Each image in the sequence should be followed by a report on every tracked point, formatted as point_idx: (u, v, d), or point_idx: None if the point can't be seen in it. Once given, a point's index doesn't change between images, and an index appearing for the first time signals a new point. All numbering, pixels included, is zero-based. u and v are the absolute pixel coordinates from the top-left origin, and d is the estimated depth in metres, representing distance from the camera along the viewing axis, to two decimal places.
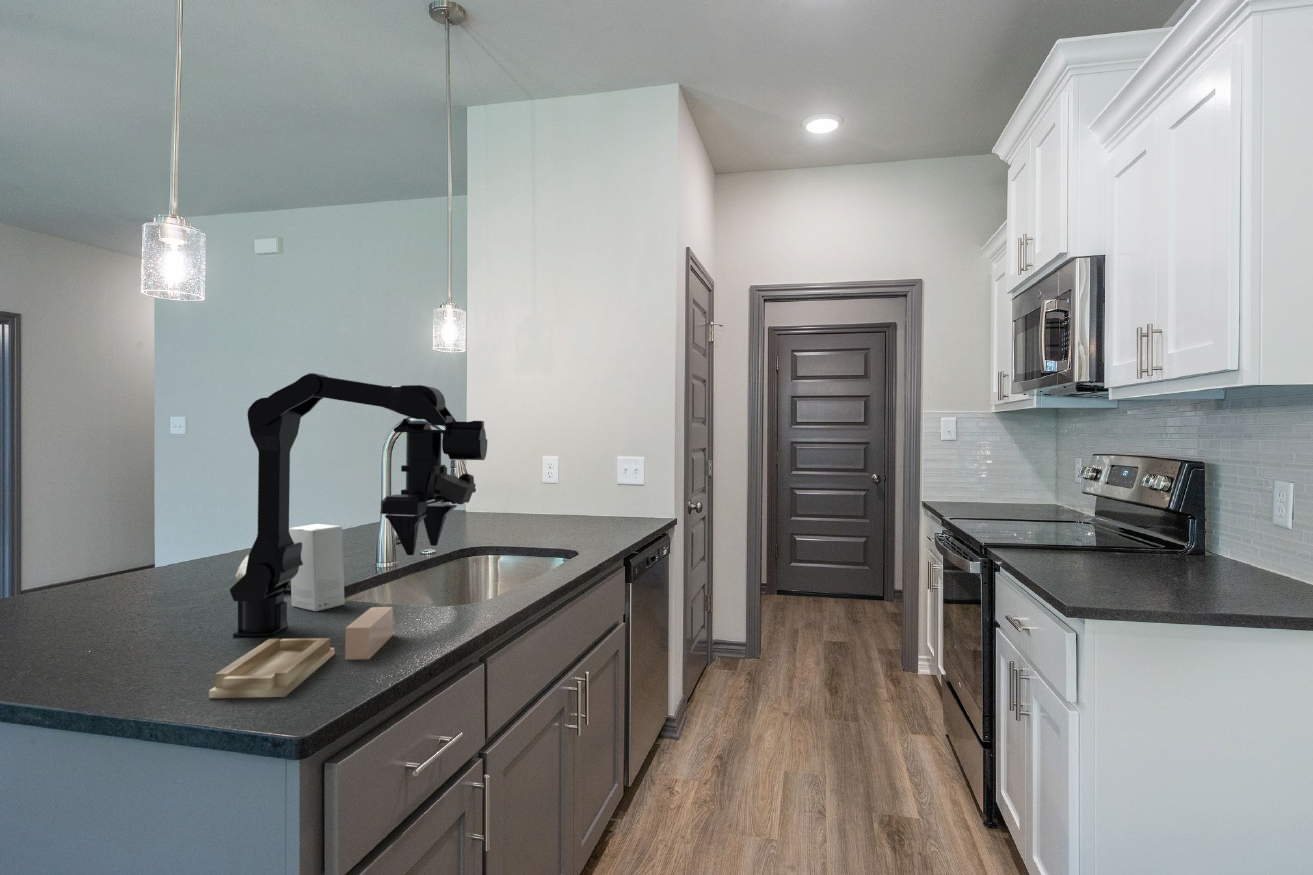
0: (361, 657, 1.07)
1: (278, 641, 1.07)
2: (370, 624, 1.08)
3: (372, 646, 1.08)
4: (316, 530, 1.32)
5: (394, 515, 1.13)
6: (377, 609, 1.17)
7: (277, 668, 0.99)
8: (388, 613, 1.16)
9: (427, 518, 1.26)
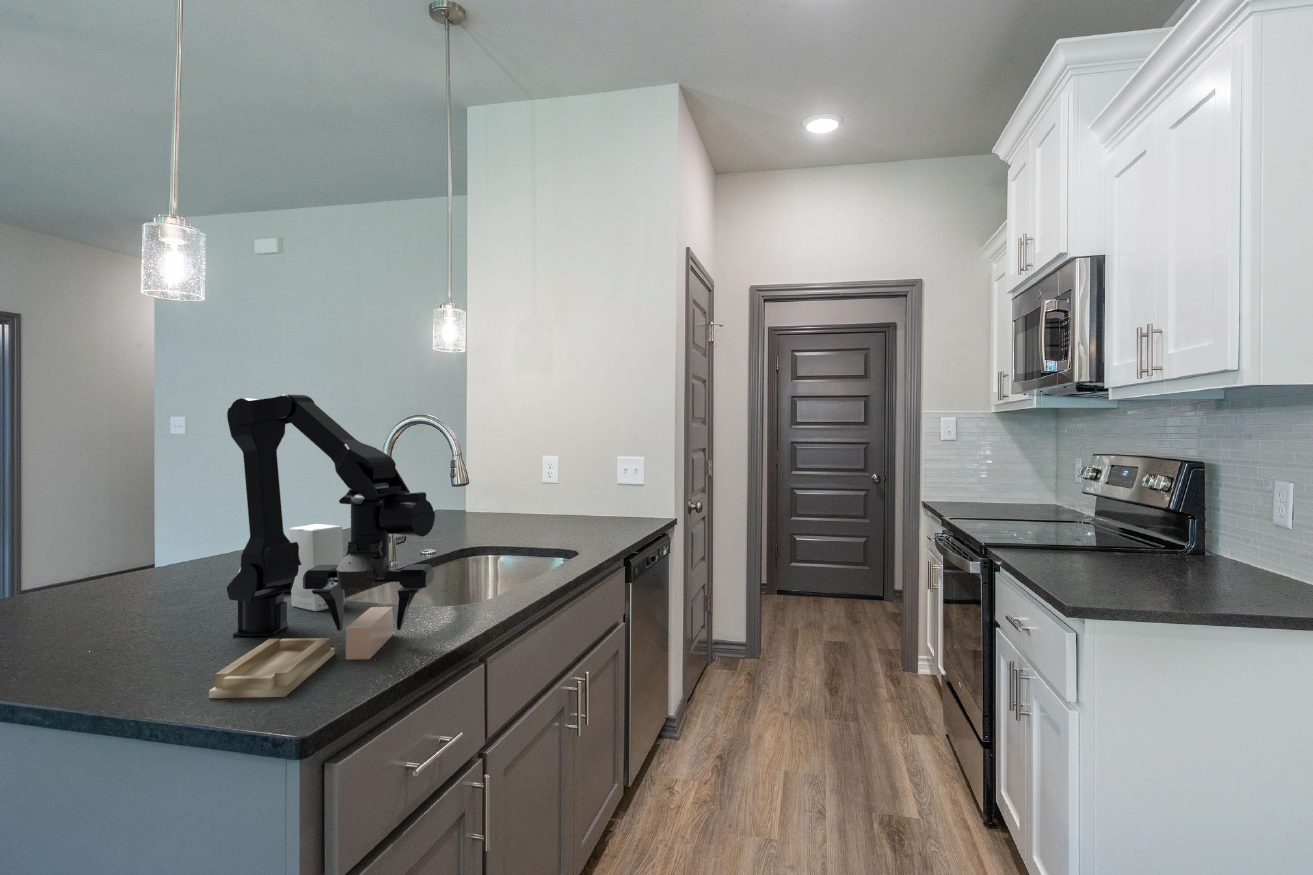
0: (361, 657, 1.07)
1: (278, 641, 1.07)
2: (370, 624, 1.08)
3: (372, 645, 1.08)
4: (316, 530, 1.32)
5: None
6: (377, 609, 1.17)
7: (277, 668, 0.99)
8: (387, 613, 1.16)
9: None
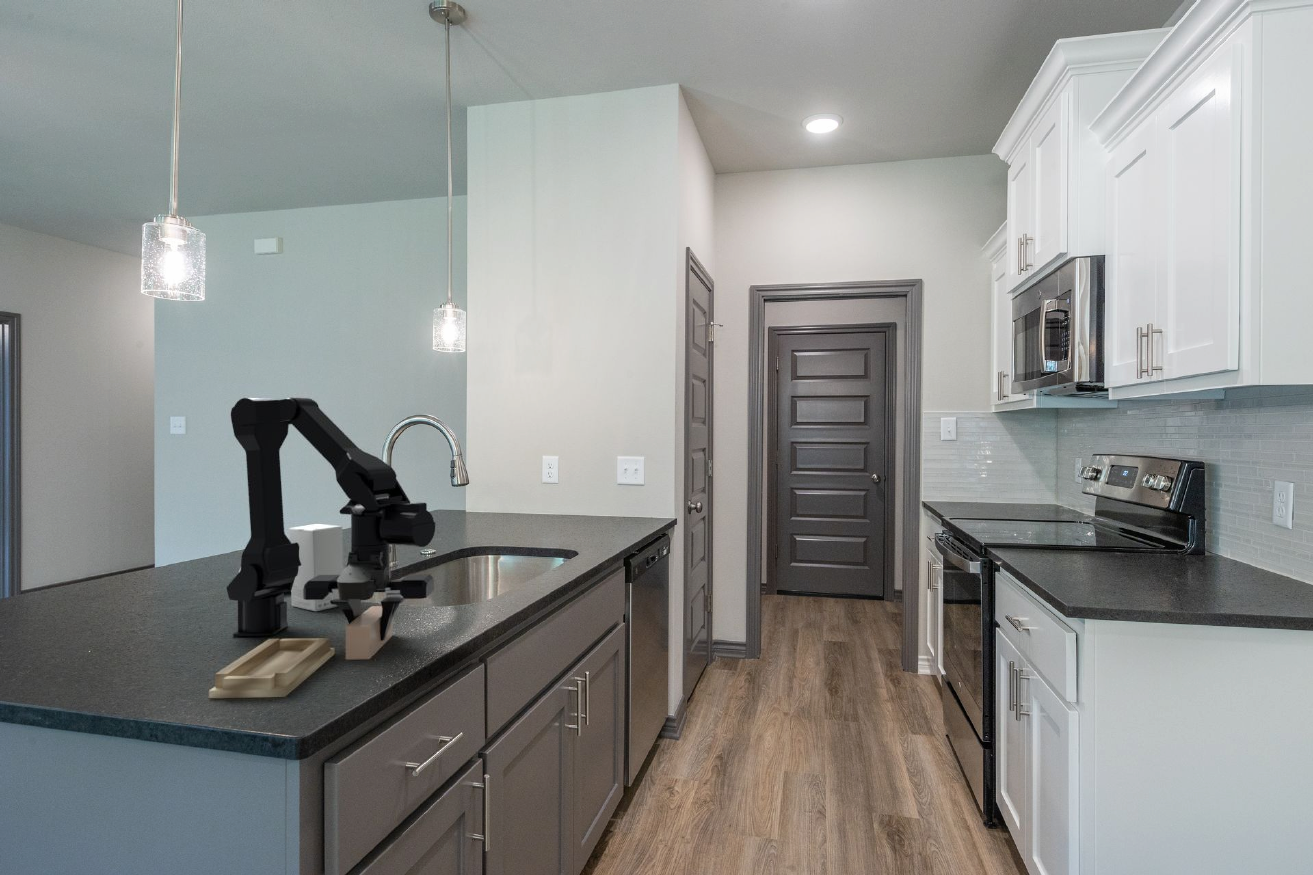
0: (361, 656, 1.07)
1: (278, 641, 1.07)
2: (370, 623, 1.08)
3: (372, 645, 1.08)
4: (316, 530, 1.32)
5: None
6: (377, 608, 1.17)
7: (277, 668, 0.99)
8: None
9: None
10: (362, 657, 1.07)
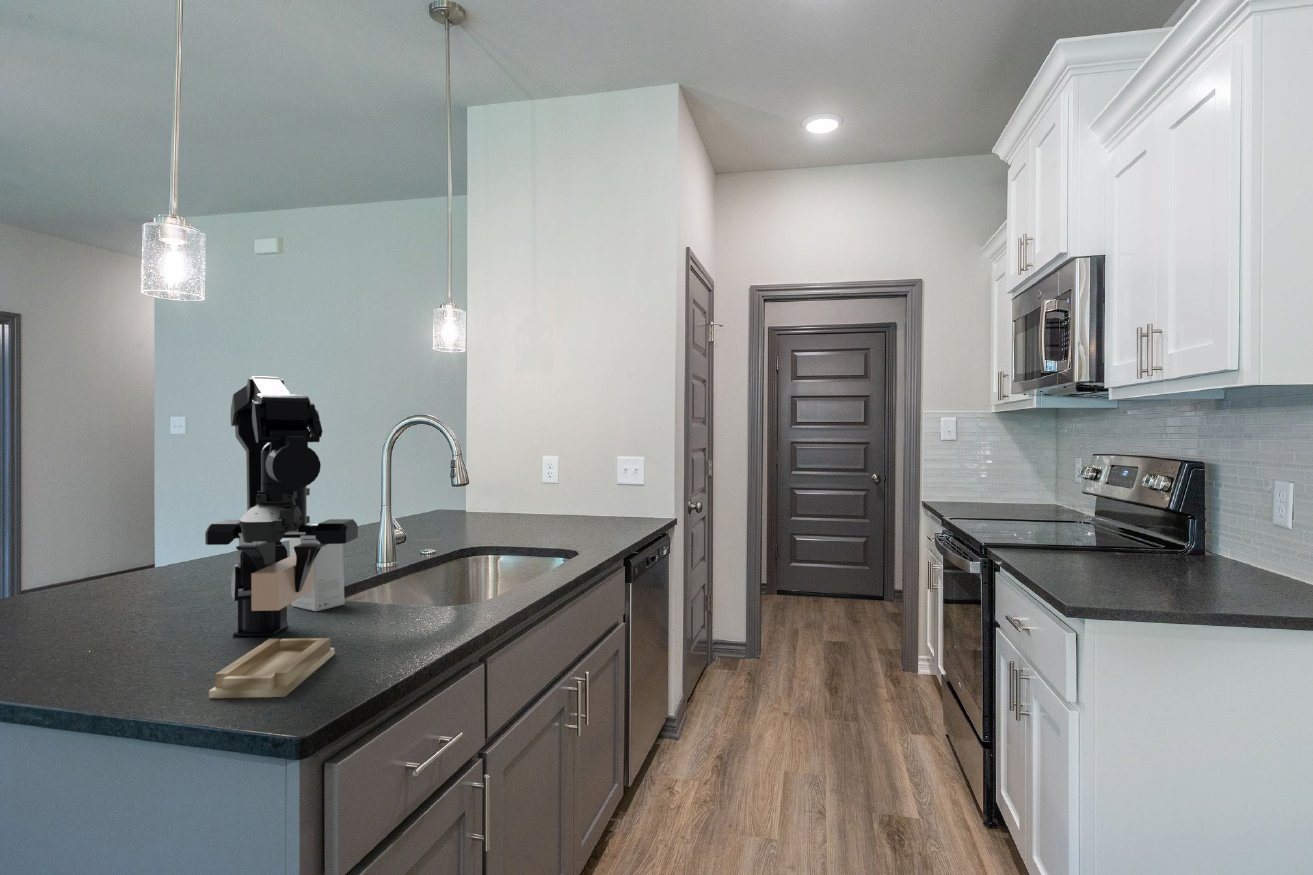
0: (270, 607, 0.94)
1: (278, 641, 1.07)
2: (281, 570, 0.96)
3: (283, 594, 0.96)
4: None
5: None
6: (295, 558, 1.05)
7: (277, 668, 0.99)
8: None
9: None
10: (270, 608, 0.95)
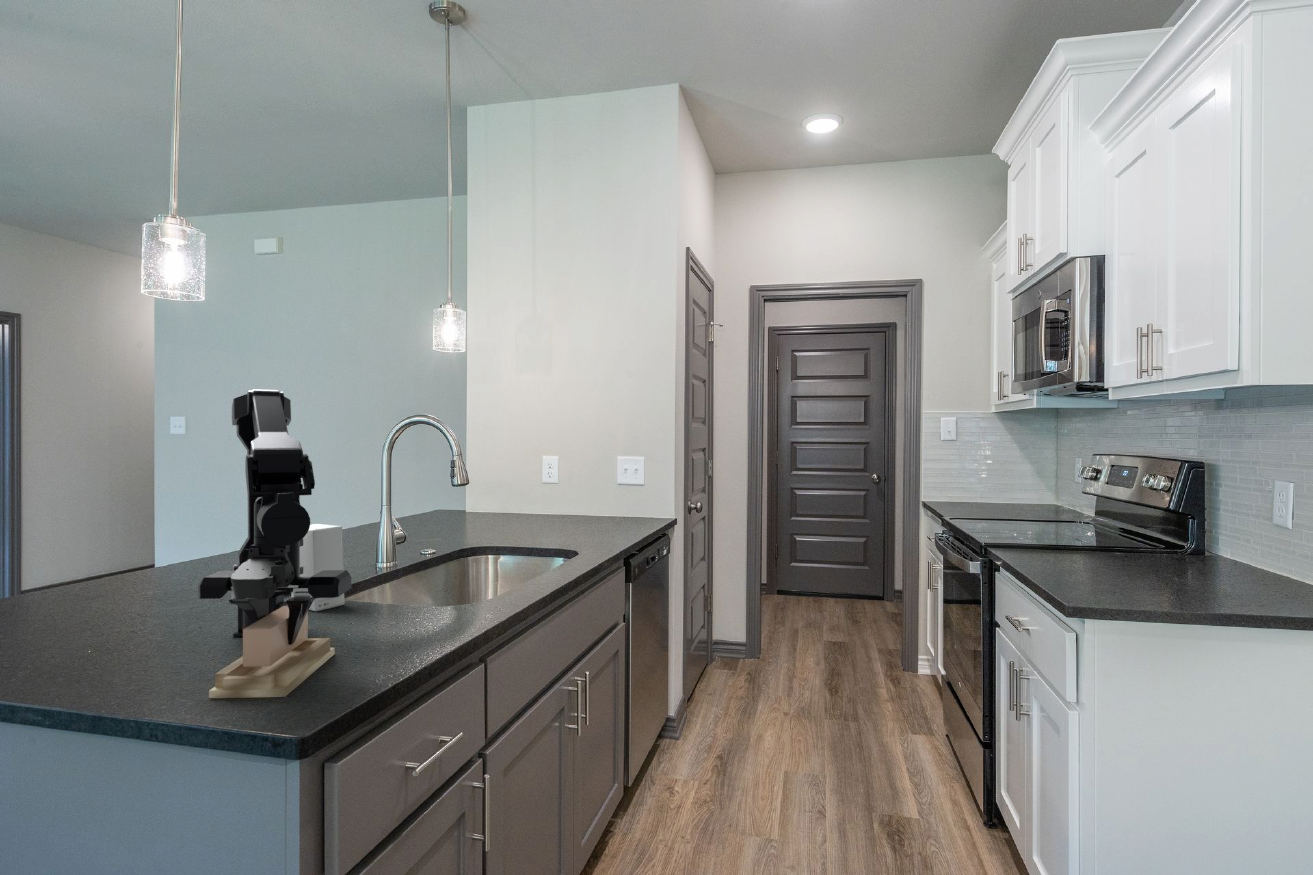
0: (261, 662, 0.94)
1: None
2: (273, 625, 0.96)
3: (275, 649, 0.96)
4: (316, 530, 1.32)
5: None
6: None
7: (277, 668, 0.99)
8: None
9: None
10: (262, 664, 0.94)
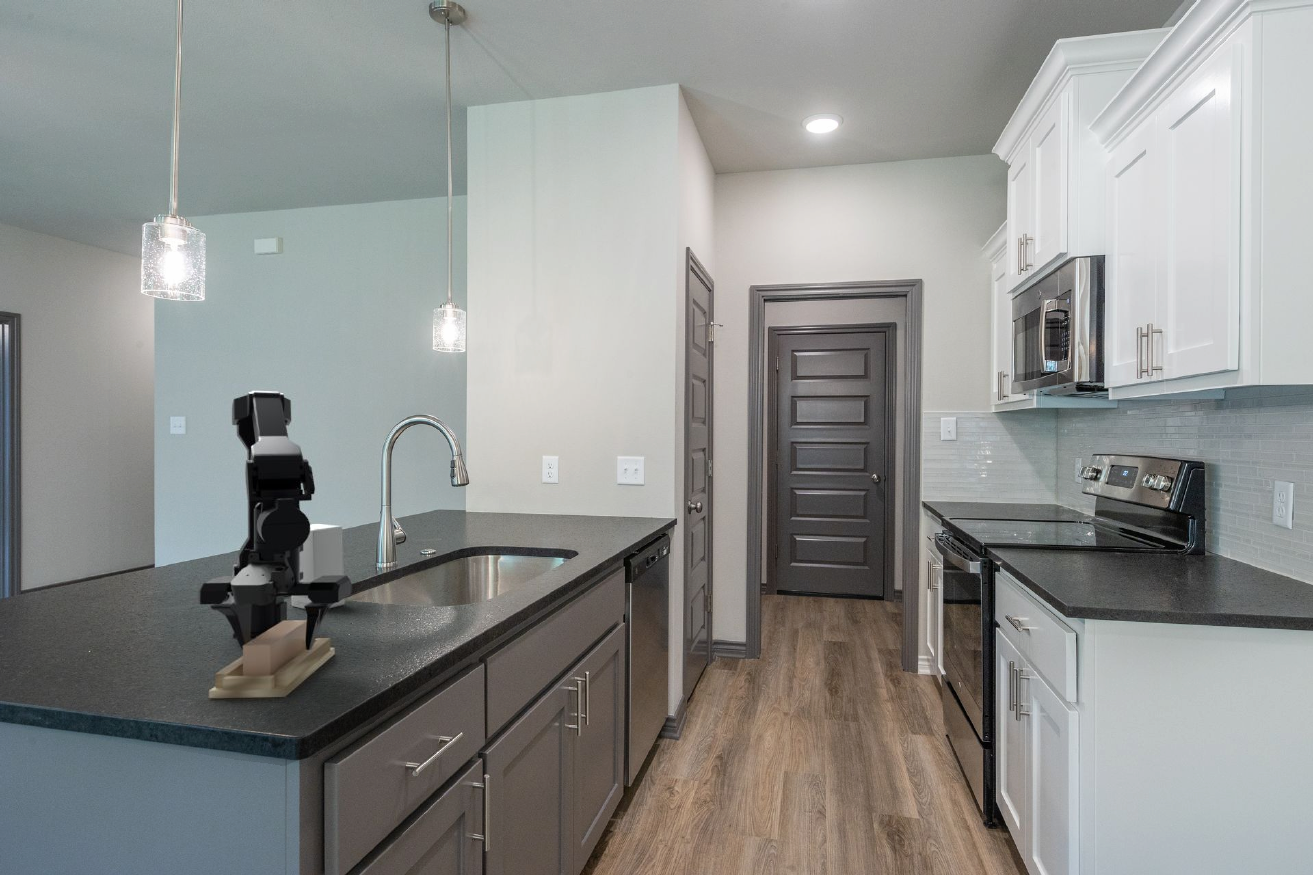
0: None
1: None
2: (273, 641, 0.96)
3: (275, 665, 0.96)
4: (316, 530, 1.32)
5: None
6: (289, 623, 1.04)
7: None
8: (300, 627, 1.03)
9: None
10: None
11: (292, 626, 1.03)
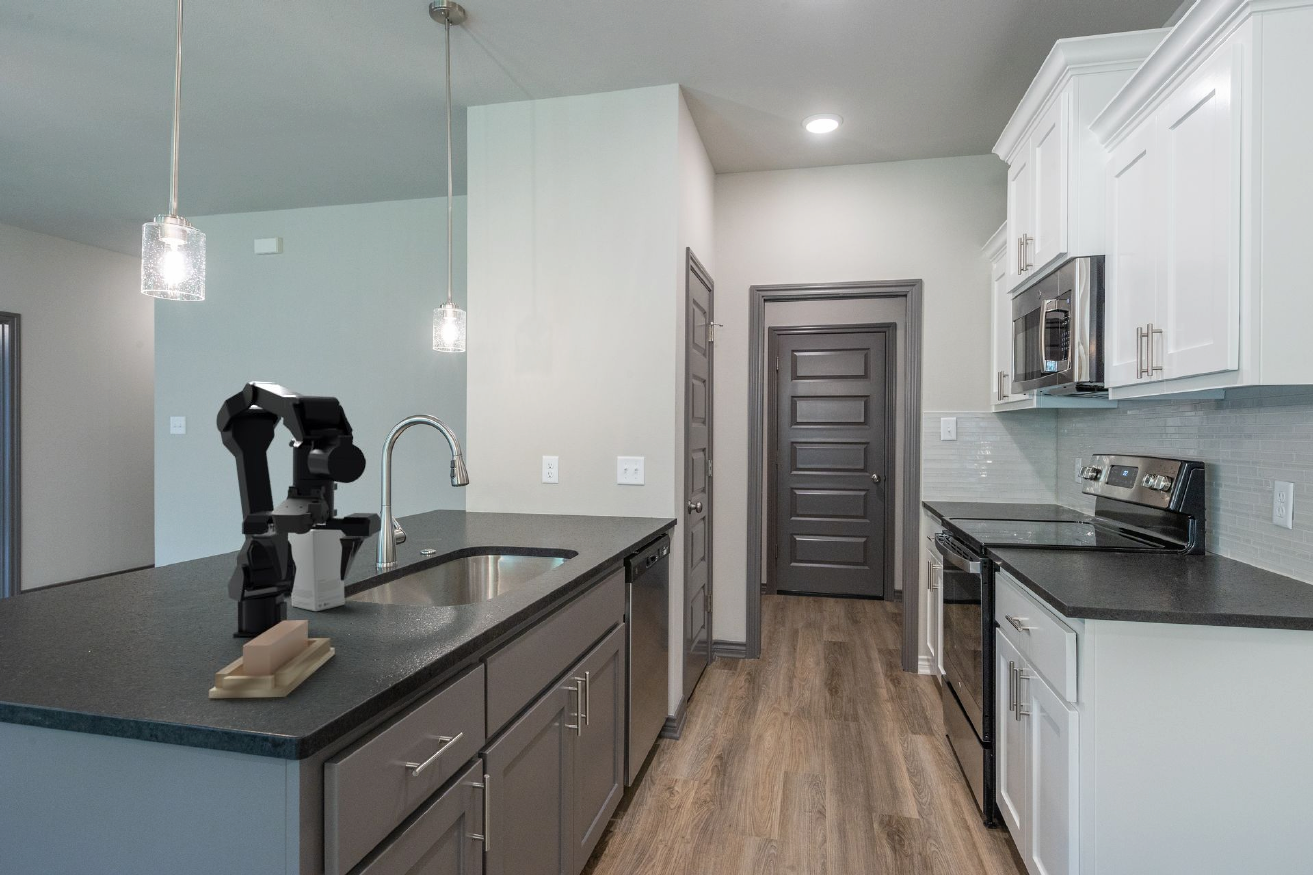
0: None
1: None
2: (273, 641, 0.96)
3: (275, 665, 0.96)
4: (316, 530, 1.32)
5: None
6: (289, 623, 1.04)
7: None
8: (300, 627, 1.03)
9: None
10: None
11: (292, 626, 1.03)
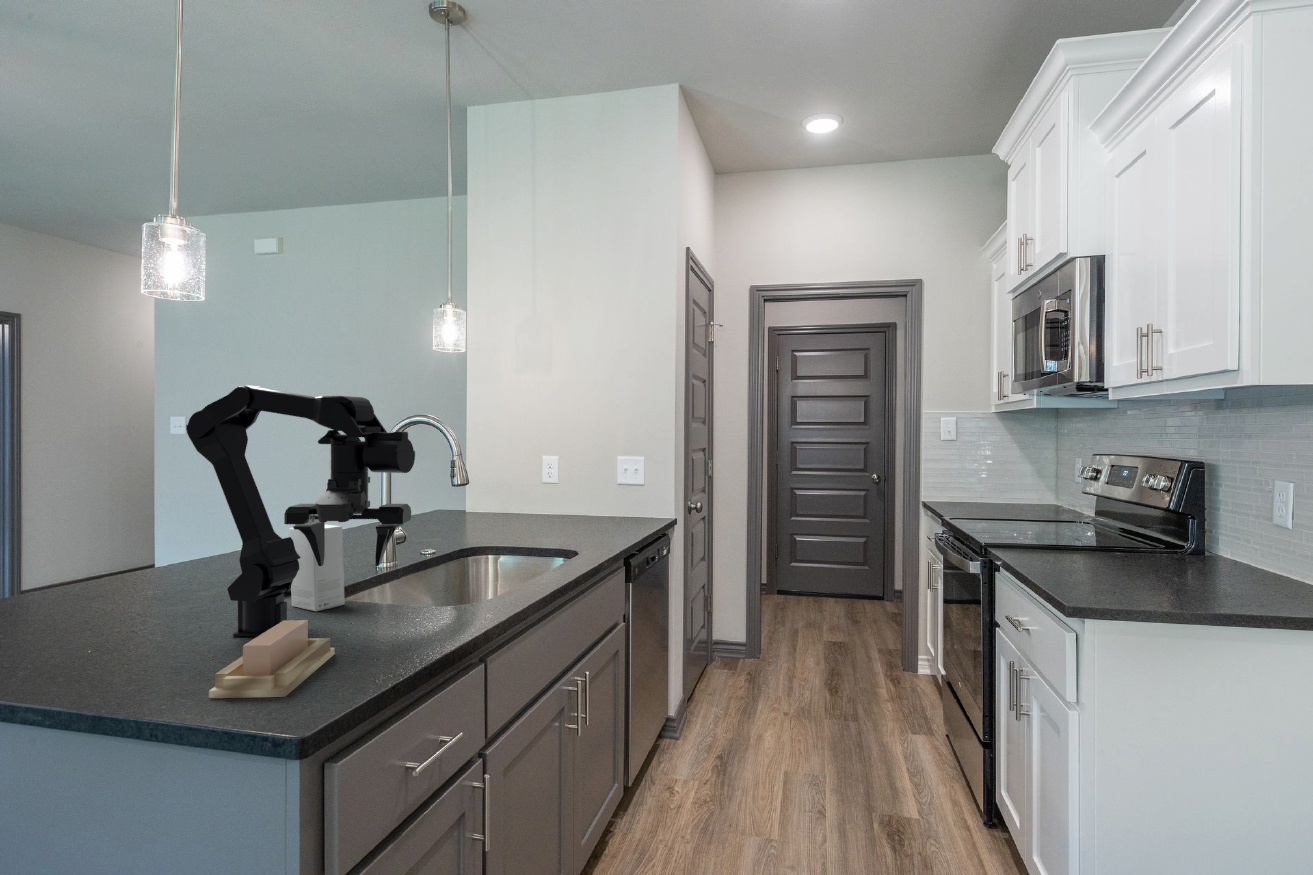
0: None
1: None
2: (273, 641, 0.96)
3: (275, 665, 0.96)
4: None
5: None
6: (289, 623, 1.04)
7: None
8: (300, 627, 1.03)
9: None
10: None
11: (292, 626, 1.03)
